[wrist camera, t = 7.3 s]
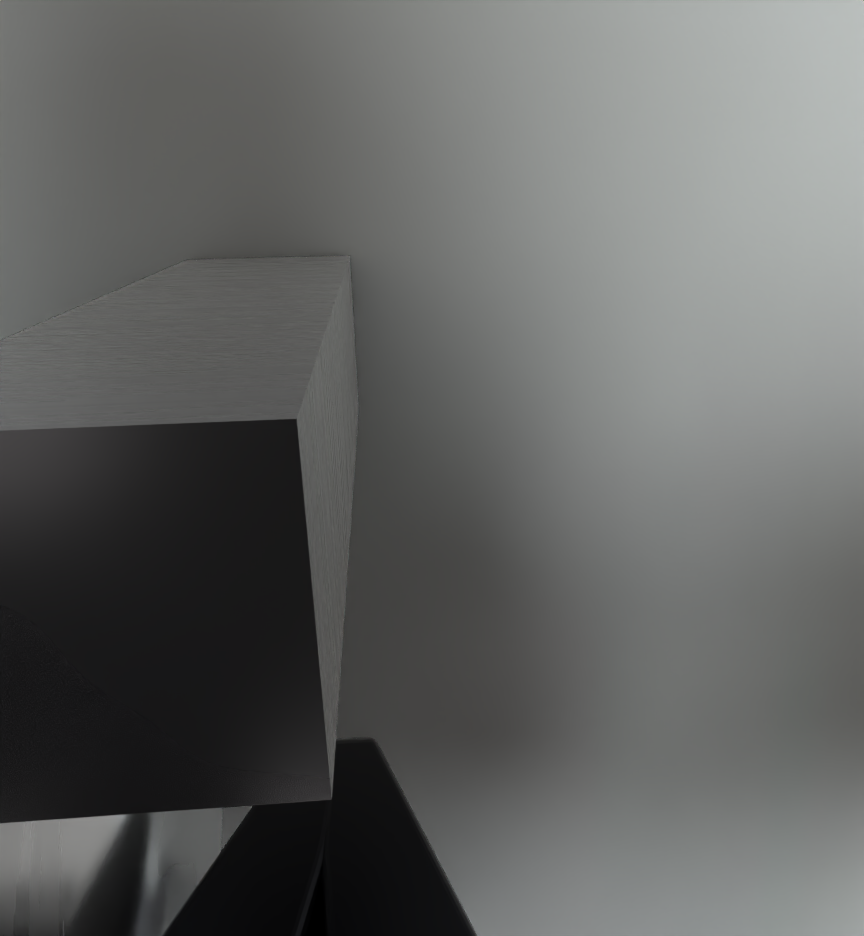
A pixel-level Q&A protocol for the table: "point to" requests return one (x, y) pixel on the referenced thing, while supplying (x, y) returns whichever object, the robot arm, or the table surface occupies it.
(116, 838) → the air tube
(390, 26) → the table surface
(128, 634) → the twin upright pegs
